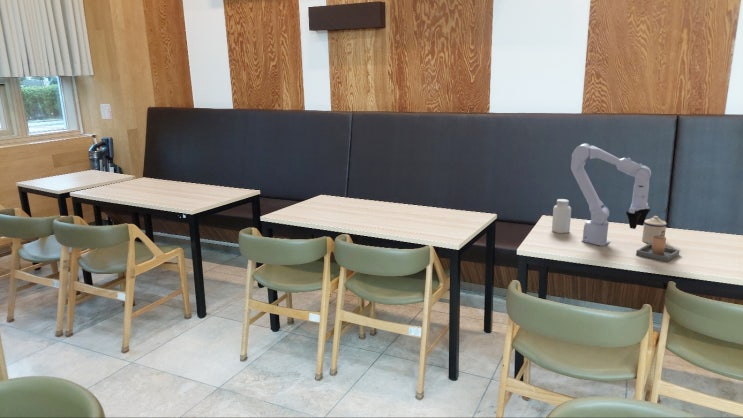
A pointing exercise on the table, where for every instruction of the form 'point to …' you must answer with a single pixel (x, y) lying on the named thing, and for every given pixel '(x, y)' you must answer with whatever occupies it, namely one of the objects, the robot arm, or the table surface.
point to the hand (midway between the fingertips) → (636, 226)
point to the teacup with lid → (653, 229)
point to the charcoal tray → (646, 252)
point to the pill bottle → (561, 216)
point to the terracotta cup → (658, 245)
